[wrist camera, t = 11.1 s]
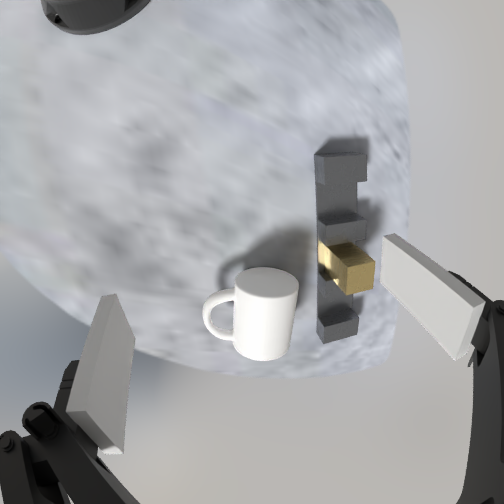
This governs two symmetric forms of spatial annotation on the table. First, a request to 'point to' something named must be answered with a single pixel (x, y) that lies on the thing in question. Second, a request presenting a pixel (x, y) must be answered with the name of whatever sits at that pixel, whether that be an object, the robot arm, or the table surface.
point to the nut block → (349, 267)
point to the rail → (337, 236)
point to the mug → (258, 312)
